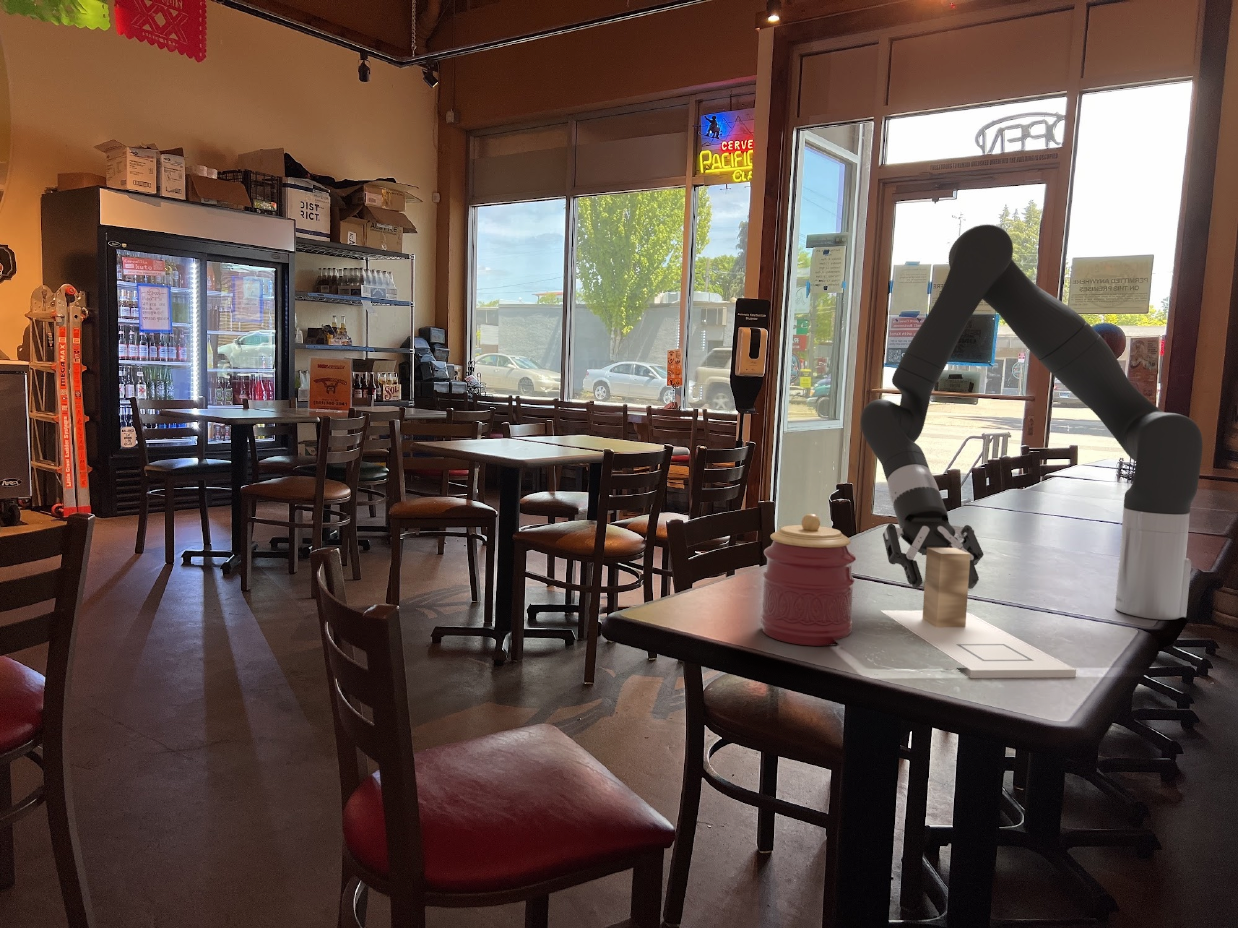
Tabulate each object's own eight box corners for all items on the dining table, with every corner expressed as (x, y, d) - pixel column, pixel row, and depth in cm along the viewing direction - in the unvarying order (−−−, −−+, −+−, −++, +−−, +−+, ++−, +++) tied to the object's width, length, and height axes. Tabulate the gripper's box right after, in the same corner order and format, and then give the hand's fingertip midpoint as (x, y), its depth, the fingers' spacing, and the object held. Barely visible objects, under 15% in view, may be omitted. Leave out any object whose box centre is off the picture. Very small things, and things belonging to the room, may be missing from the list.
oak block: (950, 618, 130) (955, 547, 129) (965, 626, 125) (970, 553, 124) (922, 618, 129) (926, 547, 128) (936, 626, 125) (941, 553, 124)
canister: (775, 616, 132) (780, 504, 130) (860, 629, 126) (866, 512, 124) (748, 637, 120) (753, 515, 118) (840, 653, 114) (846, 524, 113)
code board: (963, 616, 135) (964, 610, 135) (1075, 677, 107) (1076, 669, 107) (879, 616, 133) (879, 610, 133) (970, 678, 106) (971, 670, 106)
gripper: (881, 484, 133) (908, 571, 123) (967, 485, 135) (1001, 572, 124) (866, 512, 139) (891, 598, 129) (949, 513, 140) (980, 598, 130)
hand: (945, 585), depth 127 cm, fingers open, 8 cm apart
